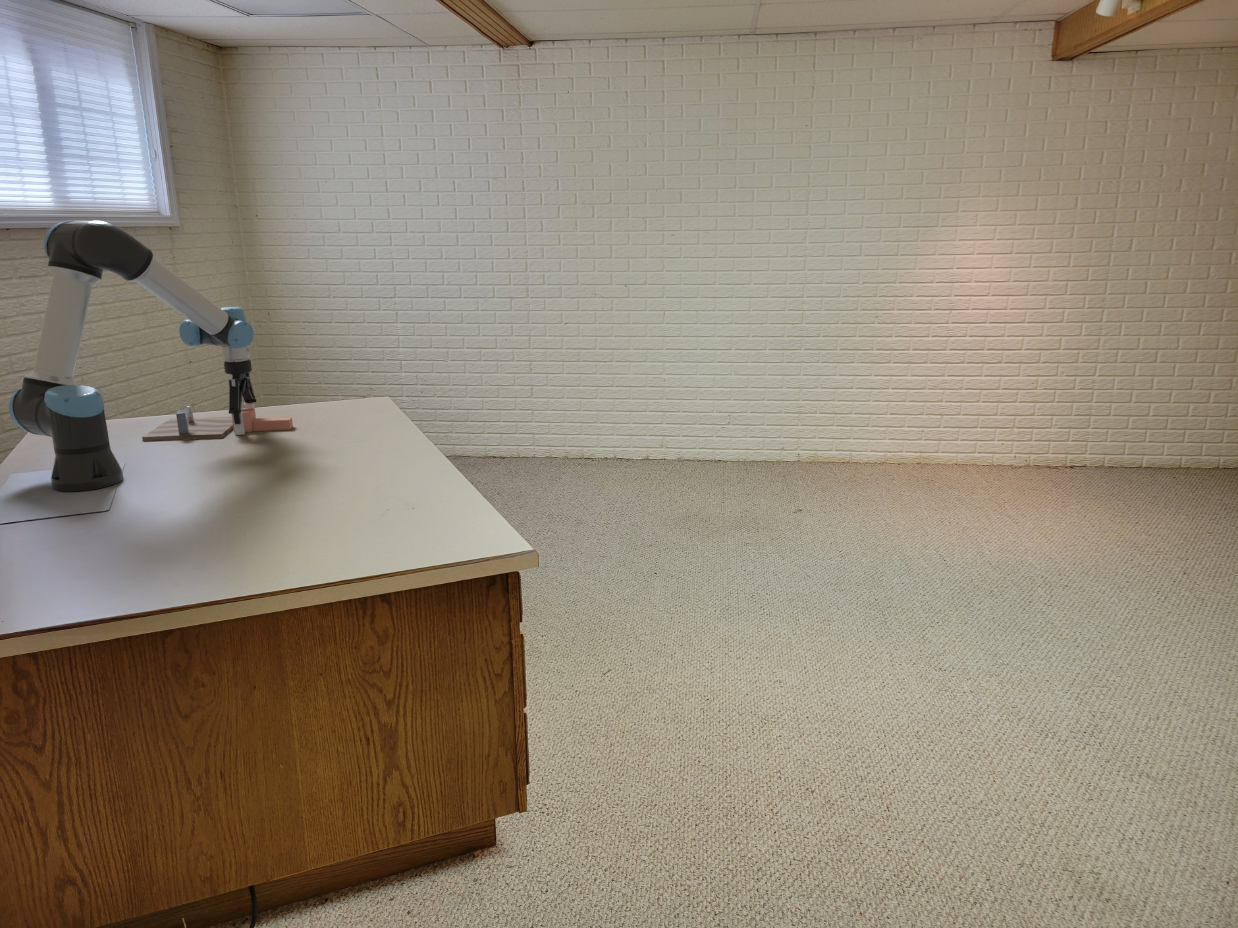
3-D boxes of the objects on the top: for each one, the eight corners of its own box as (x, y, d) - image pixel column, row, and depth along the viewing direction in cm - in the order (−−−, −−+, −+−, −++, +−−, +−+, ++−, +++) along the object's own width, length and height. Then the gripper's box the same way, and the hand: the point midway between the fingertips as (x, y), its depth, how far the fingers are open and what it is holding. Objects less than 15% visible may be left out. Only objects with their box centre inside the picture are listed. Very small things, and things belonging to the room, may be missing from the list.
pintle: (193, 426, 276) (190, 406, 274) (187, 426, 275) (184, 407, 274) (195, 425, 277) (192, 405, 276) (189, 425, 277) (186, 405, 275)
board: (222, 438, 261) (221, 434, 261) (142, 441, 258) (142, 437, 258) (243, 420, 284) (243, 416, 284) (170, 422, 281) (170, 418, 281)
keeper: (188, 437, 262) (185, 413, 260) (179, 438, 261) (176, 413, 259) (191, 433, 267) (187, 409, 265) (182, 433, 266) (178, 409, 264)
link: (293, 426, 276) (291, 407, 274) (289, 430, 270) (287, 410, 269) (238, 428, 273) (236, 408, 272) (233, 432, 268) (231, 412, 267)
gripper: (239, 366, 254) (248, 438, 260) (260, 353, 278) (268, 419, 284) (211, 367, 253) (221, 439, 259) (235, 353, 277) (243, 420, 283)
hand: (245, 429), depth 271 cm, fingers open, 13 cm apart
